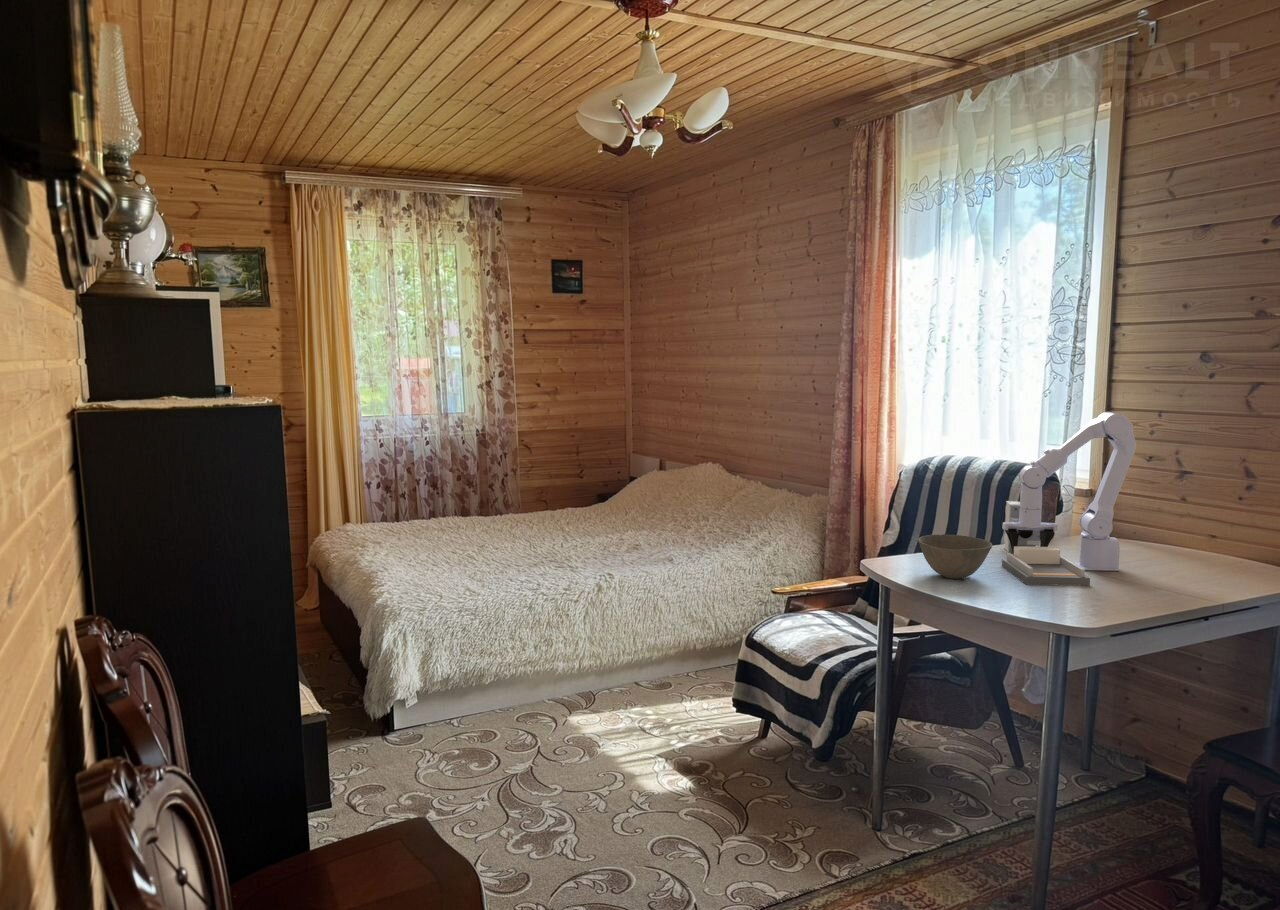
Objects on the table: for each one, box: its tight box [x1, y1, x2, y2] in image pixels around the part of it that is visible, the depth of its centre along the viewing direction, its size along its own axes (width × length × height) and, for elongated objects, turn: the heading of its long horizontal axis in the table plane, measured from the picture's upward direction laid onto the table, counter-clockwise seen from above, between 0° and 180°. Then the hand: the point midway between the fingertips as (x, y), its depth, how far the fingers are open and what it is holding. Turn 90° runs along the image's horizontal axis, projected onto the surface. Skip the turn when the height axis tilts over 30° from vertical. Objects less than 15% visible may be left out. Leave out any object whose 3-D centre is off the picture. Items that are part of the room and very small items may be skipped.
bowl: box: [917, 533, 993, 580], centre depth 228 cm, size 19×19×10 cm
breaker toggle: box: [1014, 546, 1061, 564], centre depth 235 cm, size 11×4×4 cm, turn 84°
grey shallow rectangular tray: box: [1001, 552, 1091, 586], centre depth 229 cm, size 16×20×4 cm
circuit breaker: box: [1003, 500, 1040, 553], centre depth 255 cm, size 8×14×15 cm, turn 166°
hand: (1028, 554), depth 241 cm, fingers open, 7 cm apart
